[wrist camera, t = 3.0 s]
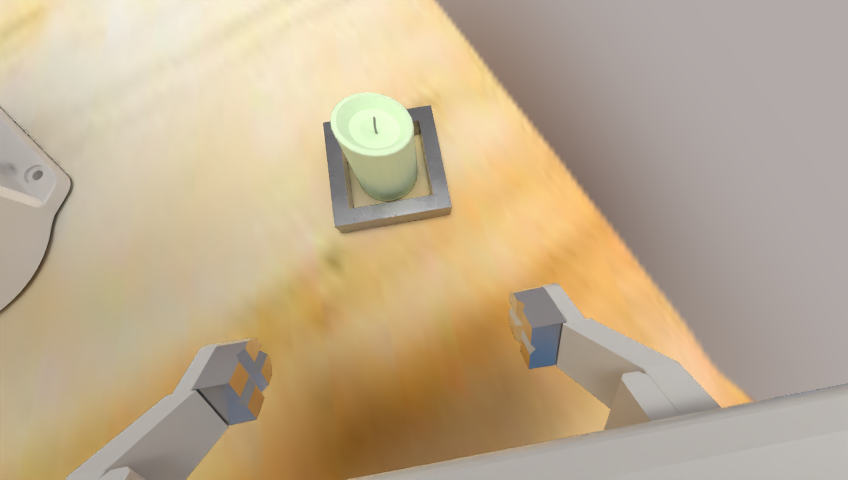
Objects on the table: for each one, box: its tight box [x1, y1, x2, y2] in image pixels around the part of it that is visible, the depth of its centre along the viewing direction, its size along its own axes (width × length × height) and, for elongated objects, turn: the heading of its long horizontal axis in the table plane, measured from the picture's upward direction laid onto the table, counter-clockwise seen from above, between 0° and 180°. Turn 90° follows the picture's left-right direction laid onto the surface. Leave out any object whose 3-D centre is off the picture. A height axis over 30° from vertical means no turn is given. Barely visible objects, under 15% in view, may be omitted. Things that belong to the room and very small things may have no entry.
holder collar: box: [323, 105, 452, 233], centre depth 26 cm, size 9×9×2 cm
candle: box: [330, 93, 417, 201], centre depth 23 cm, size 5×5×8 cm
